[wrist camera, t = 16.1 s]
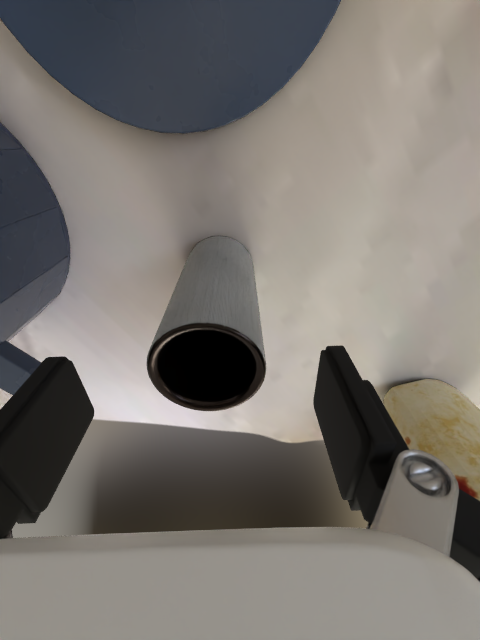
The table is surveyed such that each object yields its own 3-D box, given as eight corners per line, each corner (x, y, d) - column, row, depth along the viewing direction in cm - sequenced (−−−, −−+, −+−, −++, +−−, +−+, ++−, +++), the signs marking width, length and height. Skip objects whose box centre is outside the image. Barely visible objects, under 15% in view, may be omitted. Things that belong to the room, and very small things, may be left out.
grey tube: (203, 305, 21) (180, 422, 12) (175, 249, 18) (120, 346, 10) (261, 285, 20) (280, 397, 11) (239, 224, 18) (241, 306, 9)
